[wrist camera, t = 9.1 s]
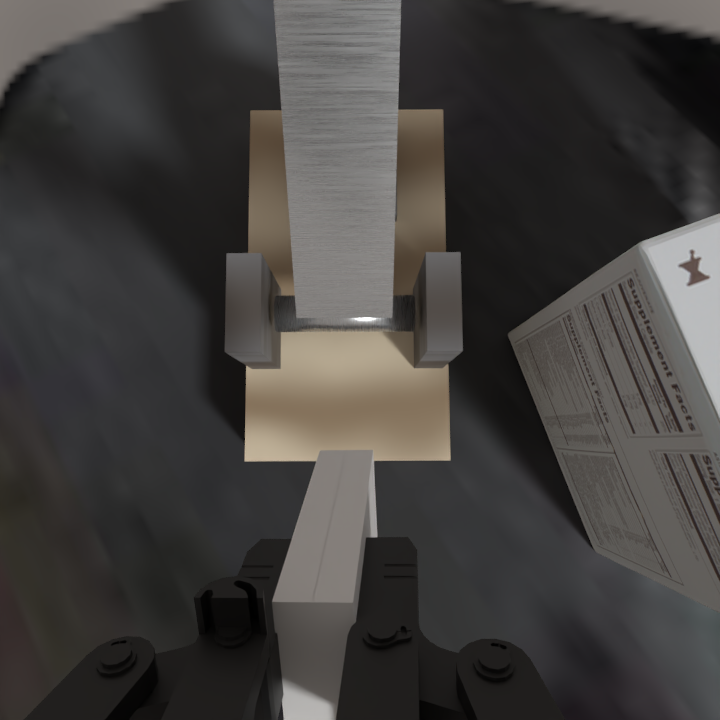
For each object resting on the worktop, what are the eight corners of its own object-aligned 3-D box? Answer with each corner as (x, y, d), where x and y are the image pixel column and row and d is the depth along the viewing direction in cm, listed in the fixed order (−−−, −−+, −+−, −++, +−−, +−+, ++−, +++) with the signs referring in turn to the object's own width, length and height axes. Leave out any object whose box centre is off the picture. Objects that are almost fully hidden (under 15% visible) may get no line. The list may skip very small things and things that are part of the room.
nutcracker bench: (440, 457, 35) (473, 466, 25) (257, 458, 35) (214, 467, 25) (434, 144, 38) (462, 31, 27) (262, 145, 38) (223, 32, 27)
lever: (416, 351, 27) (451, -294, 16) (273, 352, 27) (209, -292, 16) (408, 290, 32) (431, -251, 20) (285, 291, 32) (241, -250, 20)
